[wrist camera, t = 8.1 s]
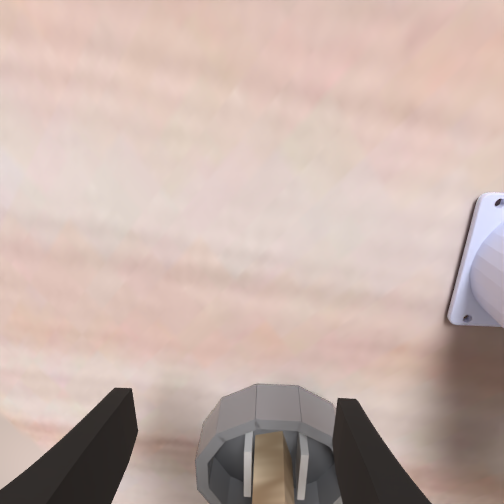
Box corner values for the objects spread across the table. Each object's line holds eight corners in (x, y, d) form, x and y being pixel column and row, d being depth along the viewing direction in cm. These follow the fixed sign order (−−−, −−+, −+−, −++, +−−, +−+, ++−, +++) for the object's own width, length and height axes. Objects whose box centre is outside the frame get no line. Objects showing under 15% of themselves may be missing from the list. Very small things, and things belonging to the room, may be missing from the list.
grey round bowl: (355, 388, 24) (366, 424, 21) (338, 492, 28) (346, 534, 25) (201, 381, 25) (192, 416, 22) (206, 484, 29) (199, 525, 26)
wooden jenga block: (282, 430, 25) (286, 542, 19) (291, 459, 26) (298, 575, 20) (255, 435, 25) (249, 546, 19) (265, 463, 26) (264, 578, 20)
